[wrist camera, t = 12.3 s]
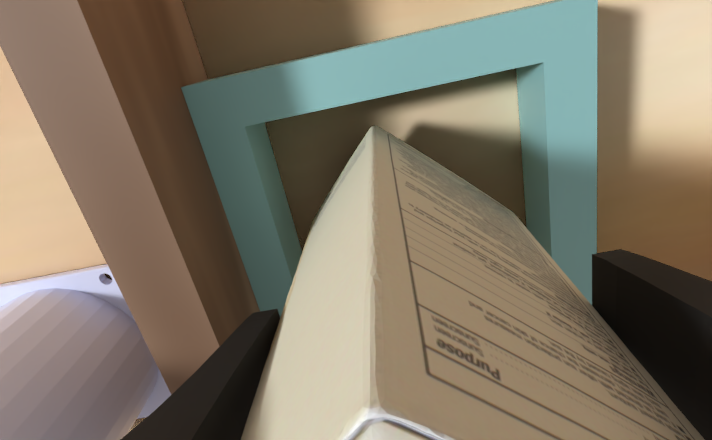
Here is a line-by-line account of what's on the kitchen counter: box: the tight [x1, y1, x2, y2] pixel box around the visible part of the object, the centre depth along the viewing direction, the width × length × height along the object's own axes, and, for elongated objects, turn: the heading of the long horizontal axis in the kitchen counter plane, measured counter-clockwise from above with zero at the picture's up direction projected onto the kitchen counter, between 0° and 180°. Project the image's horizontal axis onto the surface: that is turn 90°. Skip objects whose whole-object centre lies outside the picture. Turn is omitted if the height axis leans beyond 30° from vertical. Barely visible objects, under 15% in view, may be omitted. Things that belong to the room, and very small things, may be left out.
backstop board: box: [0, 0, 260, 395], centre depth 15 cm, size 2×22×6 cm, turn 12°
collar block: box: [181, 0, 598, 317], centre depth 16 cm, size 12×12×2 cm
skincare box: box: [241, 126, 705, 440], centre depth 10 cm, size 6×4×12 cm
